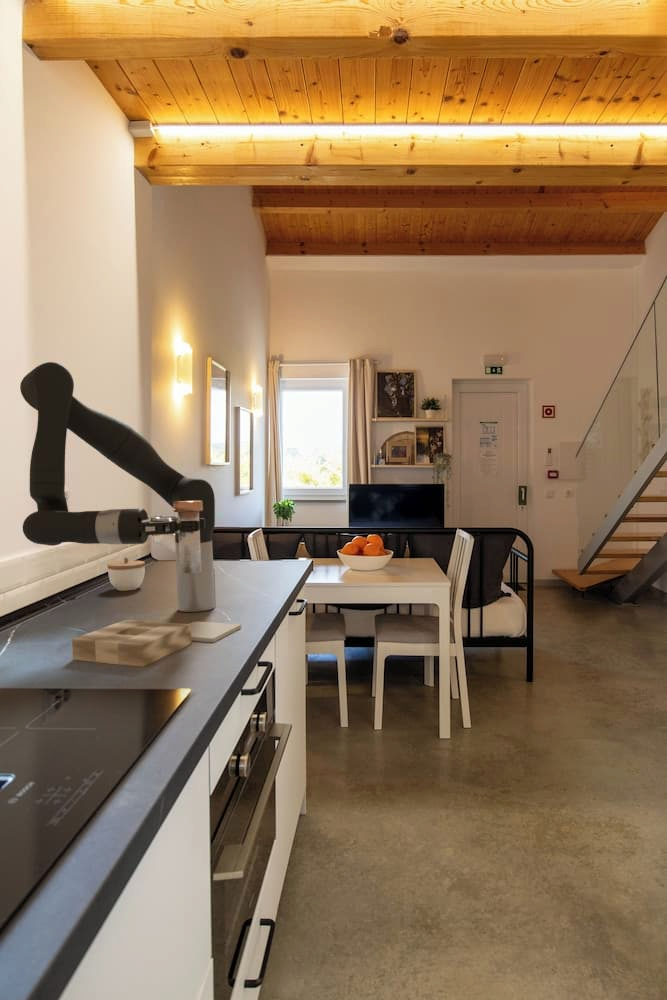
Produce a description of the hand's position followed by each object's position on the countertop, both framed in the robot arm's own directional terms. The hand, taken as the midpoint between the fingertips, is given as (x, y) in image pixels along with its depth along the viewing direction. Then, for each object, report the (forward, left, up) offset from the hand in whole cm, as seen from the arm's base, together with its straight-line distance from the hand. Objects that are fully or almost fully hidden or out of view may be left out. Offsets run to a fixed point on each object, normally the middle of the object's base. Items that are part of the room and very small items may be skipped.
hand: (201, 524), depth 140 cm
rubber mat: (-2, -2, -24) cm, 24 cm away
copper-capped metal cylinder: (+1, -3, -10) cm, 10 cm away
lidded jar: (-42, -53, -24) cm, 71 cm away
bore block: (+14, -8, -24) cm, 29 cm away
